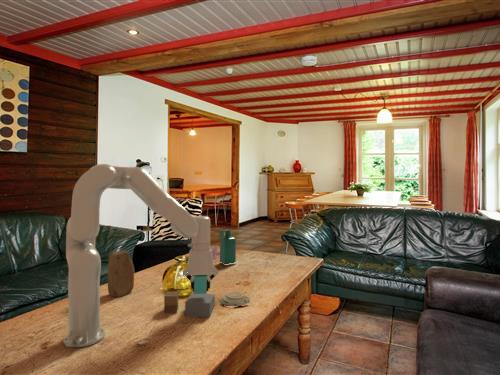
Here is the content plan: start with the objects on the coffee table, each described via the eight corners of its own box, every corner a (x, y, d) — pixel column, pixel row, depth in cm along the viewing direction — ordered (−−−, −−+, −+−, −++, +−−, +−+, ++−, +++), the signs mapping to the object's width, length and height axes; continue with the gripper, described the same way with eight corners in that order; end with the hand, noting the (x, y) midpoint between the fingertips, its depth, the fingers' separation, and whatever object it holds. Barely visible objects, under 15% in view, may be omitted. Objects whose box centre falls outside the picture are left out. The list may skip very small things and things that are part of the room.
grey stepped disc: (214, 307, 141) (248, 310, 138) (214, 299, 141) (248, 302, 138) (223, 295, 156) (255, 298, 153) (223, 288, 156) (255, 290, 153)
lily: (200, 260, 221) (198, 250, 216) (213, 251, 228) (212, 241, 223) (212, 269, 214) (211, 258, 209) (225, 259, 222) (224, 248, 216)
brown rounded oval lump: (113, 298, 148) (114, 254, 148) (106, 294, 153) (106, 252, 153) (136, 292, 157) (136, 250, 156) (127, 288, 161) (127, 248, 161)
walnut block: (176, 312, 134) (176, 295, 134) (164, 313, 134) (164, 296, 134) (178, 308, 139) (178, 291, 139) (166, 308, 139) (166, 291, 139)
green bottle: (229, 261, 216) (229, 228, 215) (237, 264, 210) (237, 229, 209) (216, 263, 210) (217, 229, 209) (224, 266, 203) (224, 231, 203)
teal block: (206, 293, 133) (206, 276, 133) (194, 293, 133) (194, 276, 133) (207, 289, 138) (207, 272, 138) (194, 289, 138) (195, 272, 138)
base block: (209, 318, 130) (210, 303, 130) (185, 316, 131) (185, 302, 131) (214, 308, 140) (214, 294, 140) (191, 306, 141) (191, 293, 141)
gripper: (178, 248, 130) (178, 294, 131) (221, 248, 132) (221, 293, 133) (180, 244, 138) (180, 287, 138) (221, 244, 139) (221, 286, 140)
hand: (200, 289), depth 135 cm, fingers closed on teal block, 5 cm apart
